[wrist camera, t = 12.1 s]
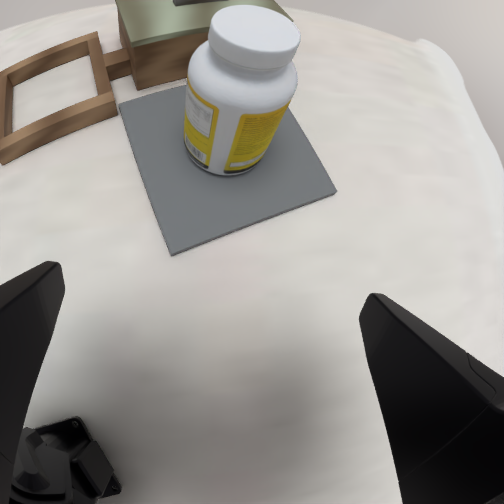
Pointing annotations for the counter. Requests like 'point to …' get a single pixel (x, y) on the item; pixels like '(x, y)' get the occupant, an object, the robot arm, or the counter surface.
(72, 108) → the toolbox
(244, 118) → the pill bottle
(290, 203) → the slate mat
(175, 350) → the counter surface
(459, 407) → the robot arm
